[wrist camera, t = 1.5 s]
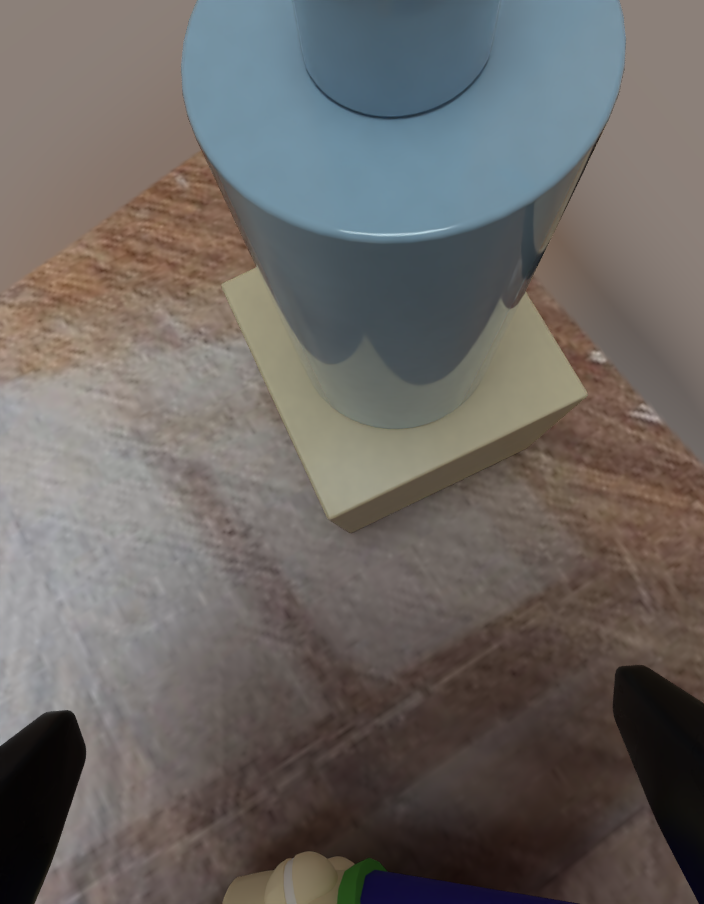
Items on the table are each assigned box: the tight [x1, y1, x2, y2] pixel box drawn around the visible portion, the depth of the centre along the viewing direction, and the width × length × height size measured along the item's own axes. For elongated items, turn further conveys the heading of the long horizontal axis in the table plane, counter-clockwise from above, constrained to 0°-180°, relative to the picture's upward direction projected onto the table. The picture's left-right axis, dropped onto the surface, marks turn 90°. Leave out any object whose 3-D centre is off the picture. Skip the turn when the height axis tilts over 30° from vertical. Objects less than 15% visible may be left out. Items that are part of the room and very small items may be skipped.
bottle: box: [181, 0, 626, 429], centre depth 10 cm, size 6×6×12 cm
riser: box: [221, 268, 588, 533], centre depth 19 cm, size 8×8×7 cm
